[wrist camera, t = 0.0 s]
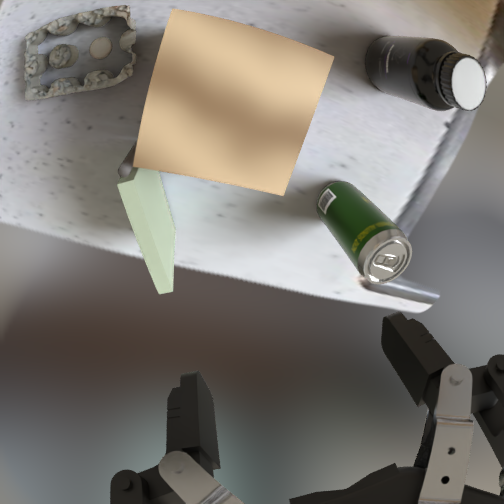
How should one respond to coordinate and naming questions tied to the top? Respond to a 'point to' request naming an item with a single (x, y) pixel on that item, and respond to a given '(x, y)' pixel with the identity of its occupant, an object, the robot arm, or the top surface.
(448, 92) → the supplement bottle
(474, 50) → the top surface
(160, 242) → the door
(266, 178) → the cupboard
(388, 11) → the top surface
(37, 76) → the egg carton
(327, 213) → the beer can
